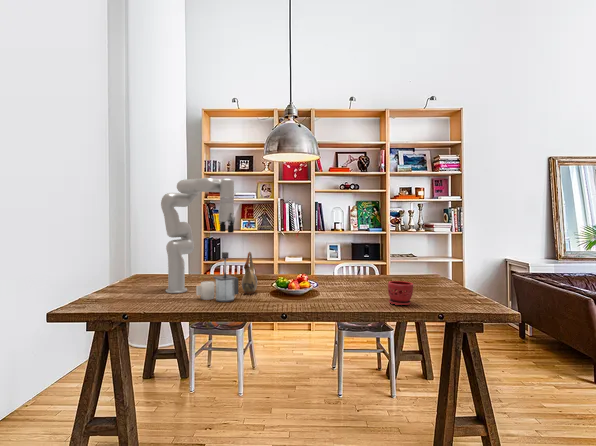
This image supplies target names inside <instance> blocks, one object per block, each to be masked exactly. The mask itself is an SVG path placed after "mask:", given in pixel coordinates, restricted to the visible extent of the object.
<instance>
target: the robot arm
mask: <svg viewBox="0 0 596 446" xmlns="http://www.w3.org/2000/svg"><path fill="white" fill-rule="evenodd" d="M176 189H177V191H178V192H168V193H167V192H166V193H165V194H164V195H163V196H162V197H161V200H160V201H161V202H160V207H161V210H162V214H163V217H164V224H165V231H166V235H167V236H168V237H169V238H173V239H172V240H169V241H168V242H167V244H166V248H165V249H166V253H167V265H168V266H167V267H168V268H167V269H168V270H167V273H168V277H167V278H168V279H167V281H168V283H167V285H168V286H167V288H166V289H165V293H168V294H182V293H186V292H187V291H188V288H187V287H185V285H186V284H185V273H186V271H185V260H184V258H183V255H189V254H192V253H193V252H194V250H195V249H194V248H195V242H194V241H195V240H194V236H193V230H192V227H191V225H190V223H189V222H185V221H180V216H179V213H178V211H177V210H176V208H177V207H178V208H186V207H189V206H190V205H191V204H192V203H193V202H194V200H195V199H196V197H197V196H198V195H199V194H201V193H203V192H206V193H207V192H209V193H219V209H218V221H219V232H220V233H221V232H222V233H223V232H227V233H229V234H230V233H232V234H233V233H234V231H235V230H234V226H235V223H236V222H235V220H236V217H235V209H234V208H235V207H234V203H235V200H234V199H235V195H234V194H235V181H234V180H233V179H232V178H212V177H204V178H203V177H202V178H201V177H200V178H191V179H190V178H189V179H187V178H186V179H185V178H184V179H181V180H179V181H178V182H177V183H176ZM226 222H227V231H226ZM174 238H178V239H174Z"/></svg>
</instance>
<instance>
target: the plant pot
mask: <svg viewBox="0 0 596 446" xmlns="http://www.w3.org/2000/svg"><path fill="white" fill-rule="evenodd" d="M387 290H388V297H389V299H388V302H389V304H390V303H391V305H392V304H395V305H408V306H409V304H410V305H411V303H412V301H411V299H412V298H413V297H412V296H413V293H414V283H413V282H411V281H410V282H409V281H403V280H391V281H389V280H388V283H387ZM395 305H394V306H395Z"/></svg>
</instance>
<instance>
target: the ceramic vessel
mask: <svg viewBox="0 0 596 446" xmlns="http://www.w3.org/2000/svg"><path fill="white" fill-rule="evenodd" d="M255 267H256V264H255V263H254V262H253V256H252V252H251V251H249V252H248V253H247V257H246V261H245V263H244V266H243V269H244V271H245V272H244V274H243V276H242V279H241V287H242V290H243V292H244V293H245V294H247V295H252V294H254V293H255V291H256V290H257V287H258V278H257V276H256V274H255Z"/></svg>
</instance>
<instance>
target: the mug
mask: <svg viewBox="0 0 596 446" xmlns="http://www.w3.org/2000/svg"><path fill="white" fill-rule="evenodd" d="M195 291H196V294H195V295H196V296H200V300H205V301H208V300H213V299H215V281H211V280H206V281H201V282H200V285H196V287H195Z"/></svg>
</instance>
